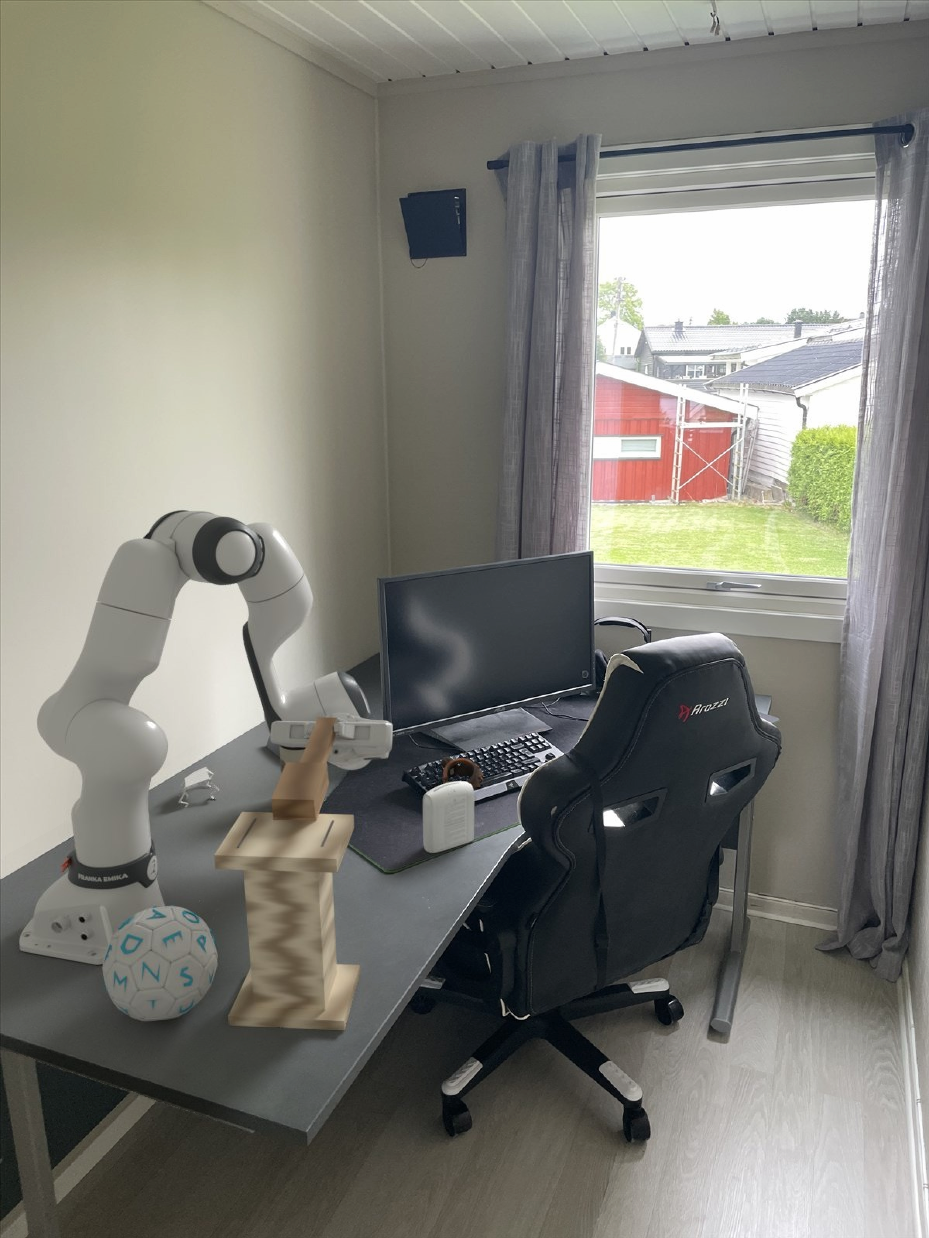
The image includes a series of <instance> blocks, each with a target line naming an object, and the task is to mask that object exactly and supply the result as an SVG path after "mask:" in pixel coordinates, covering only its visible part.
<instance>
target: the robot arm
mask: <svg viewBox="0 0 929 1238" xmlns="http://www.w3.org/2000/svg"><path fill="white" fill-rule="evenodd" d="M190 580H191V581H194V582H199V583H205V584H213V585H215V586H216V585H217V586H230V585H234V584H237V586H238V588H239V591H240V593H241V595H242V596H243V599H244V601H245V604H246V606H247V609H248V617H247V618H248V619H247V621H245V623H244V624H243V625H242V629H241V631H242V633H241V634H242V640H243V646H244V650H245V654H246V658H247V661H248V664H249V668H250V672H251V674H252V677H253V681H254V684H255V688H256V691H257V694H258V698H259V700H260V703H261V707H262V710H263V716H264V717H263V718H264V723H265V727H266V730H267V733H268V735H269V737H270V736H271V737H270V738H271V742H272V743H274V744H278V745H282V746H286V747H290V748H295V747H306V746H307V743H308V741H309V738H310V736H311V733H312V731H313V728H314V726H315V723H316V721H317V719H318V717H332V718H338V723H334V728H335V729H334V731H333V733H334V735H335V736H336V738H335V741H334V743H333V746H332V749H331V752H330V755H329V757H328V760H327V762H329V763H331V765H334V766H336V767H338V768H340V769H343V770H346V771H355V770H358V769H359V770H360V769H362V768H364V767H366V766H367V765H368V764H370V762H371V761H372V760H382V759H388V758H389V755H390V752H391V751H392V748H393V736H394V735H393V731H394V728H393V727H394V726H393V725H394V724H393V723H391V722H390V721H388V720H382V719H373V718H372V719H371V709H370V706H369V703H368V700H367V697H366V695H365V693H364V691H363V689H362V688H361V687H362V686H360V685H359V683H358V681H357V680H356V679H355V678H354V677H353V676H351V675H350V674H348V673H346V672H344V671H340V670H337V671H334V672H331V673H328V674H327V675H324V676H321V677H318V678H317V679H315V680H313V681H311V682H309V683H306V684H303V685H301V686H298V687H296V688H294V689H290V690H283V689H282V688H281V685H280V681H279V678H278V675H277V671H276V668H275V665H274V662H273V659H274V655H275V653H276V652H277V650H278V649H279V648H280V647H281V646H282V645H283V644H284V643H285V642H286V641H287V640H288V639H289V638H291V637H292V636H293V634H295V633H296V632H297V631H298V630H299V629H300V628H301V627H302V626H303V625H304V623H305V622H306V621H307V619H308V617H309V615H310V613H311V612H312V611H311V610H312V608H313V604H314V603H313V602H314V595H313V591H312V589H311V585H310V582H309V580H308V577H307V575H306V572H305V571H304V569H303V566H302V565H301V563H300V561H299V560H298V558H297V556H296V554H295V553H294V551H293V550H292V547H291V546H290V545H289V543H288V542H287V541H286V539H285V537H284V536H283V535H282V534H281V532H280V531H279V530H278V529H277V528H276V526H274V525H272V524H270V523H267V522H254V523H253V522H252V523H249V524H246V523H243V522H242V521H241V520H238V519H237V518H233V517H230V516H222V515H219V514H215V513H213V512H210V511H203V510H185V509H180V510H179V509H178V510H174V511H170V512H168V513H166V514H163V515H162V516H160V517H159V518H158V519H157V520H156V521H155V522H154V523H153V524H152V526H151V527H150V529H149V531H148V532H147V533H146V534H145V535H144V536H143V538H134V539H130V540H126V541H125V542H123V543H122V544H121V545H120V546H119V547H118V549H117V550H116V552H115V554H114V555H113V557H112V560H111V561H110V564H109V567H108V568H107V571H106V573H105V575H104V578H103V581H102V583H101V586H100V590H99V593H98V596H97V599H96V603H95V606H94V610H93V612H92V613H93V614H92V617H91V621H90V624H89V627H88V631H87V634H86V638H85V641H84V644H83V647H82V650H81V653H80V654H79V656H78V659H77V660H76V662H75V665H74V667H73V668H72V670H71V671H70V673H69V675H68V677H67V678H66V680H65V682H64V683H63V684H62V686H60V688H59V690H58V691H56V692H54V693H53V694H51V695H50V696H49V697H48V698H47V699H46V700H45V701H44V702H43V704H42V705H41V706H40V708H39V711H38V714H37V719H36V727H37V731H38V734H39V735H40V737H41V738H42V740H43V741H44V743H45V744H46V745H47V746H48V747H49V748H50V750H51V751H52V752H53V753H55V754H56V755H58V756H59V757H62V758H63V759H64V760H68V761H69V762H71V763H73V764H74V765H76V767H77V769H78V770H79V772H80V775H81V780H82V783H81V792H80V797H79V798H77V800H75V803H74V804H73V806H72V808H71V811H70V812H71V813H70V817H71V824H72V832H73V841H74V849H73V850H71V852H69V853H68V855H67V856H66V859H65V860H64V861H63V863H62V864H61V865H60V868H61V873H65V871H66V869H67V870H68V871H67V872H66V873H65V874H64V875H62V876H61V877H59V878H58V879H57V880H56V881H54V882H53V883H52V884H51V885H50V886H49V887H47V889H46V890H45V891H44V892H43V893H42V895H41V896H40V898H39V899H38V900H37V903H36V905H35V908H34V912H33V917H32V918H31V919H30V921H28V923H27V924H26V926H25V927H24V928H23V930H22V931H21V934H20V937H19V941H18V942H19V943H18V944H19V946H18V947H19V950H20V951H21V952H23V953H25V952H26V953H29V954H36V955H40V956H47V957H52V958H57V959H63V960H68V961H73V962H80V963H85V964H90V965H96V966H97V965H103V959H104V955H105V952H106V949H107V947H108V944H109V942H110V940H111V938H112V936H113V935H114V934H115V932H116V931H117V930H118V928H119V927H120V926H121V925H122V923H124V922H125V921H127V920H128V919H130V918H131V917H133V916H134V915H135V914H137V913H139V912H141V911H143V910H146V909H149V908H152V907H154V906H157V907H163V906H166V904H165V902H164V899H163V896H162V893H161V890H160V886H159V882H158V859H157V854H156V847H155V841H154V839H153V838H152V837H151V835H152V834H151V826H150V813H149V812H150V811H149V791H150V786H151V782H152V778H153V777H154V776H155V775H156V774H158V773H159V771H160V770H161V768H163V766H164V764H165V762H166V759H167V756H168V751H169V742H168V741H169V740H168V737H167V734H166V733H165V731H164V729H163V728H162V727H161V726H160V725H159V724H158V723H157V722H156V721H155V720H154V719H152V717H150V716H149V715H148V714H146V713H145V712H143V711H142V710H138V709H137V708H135V707H132V706H130V701H131V699H132V697H133V695H134V694H135V692H136V690H137V689H138V687H139V686H140V684H141V683H142V682H143V680H144V679H145V678H147V677H148V676H149V675H151V674H153V673H155V671H156V670H157V669H158V667H159V666H160V663H161V658H162V655H163V651H164V647H165V644H166V642H167V641H166V640H167V636H168V633H169V629H170V627H171V623H172V618H173V616H174V615H173V613H174V609H175V606H176V600H177V598H178V596H179V594H180V592H181V590H182V588H183V587H184V586H185V585H186V584H187V583H188V582H189V581H190Z"/></svg>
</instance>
